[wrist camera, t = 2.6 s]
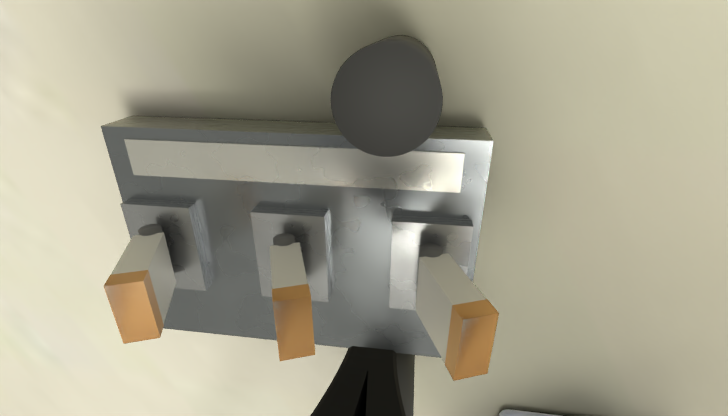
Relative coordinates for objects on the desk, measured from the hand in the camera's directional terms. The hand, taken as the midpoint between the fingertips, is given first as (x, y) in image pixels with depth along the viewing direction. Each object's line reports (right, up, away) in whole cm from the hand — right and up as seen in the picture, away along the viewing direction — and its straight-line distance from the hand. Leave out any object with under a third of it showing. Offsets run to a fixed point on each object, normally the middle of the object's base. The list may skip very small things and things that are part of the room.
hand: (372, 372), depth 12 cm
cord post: (+1, +10, +4) cm, 11 cm away
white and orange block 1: (-4, +2, +5) cm, 7 cm away
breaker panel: (-3, +4, +8) cm, 9 cm away
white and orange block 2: (+2, +2, +4) cm, 5 cm away
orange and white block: (-10, +3, +6) cm, 11 cm away
